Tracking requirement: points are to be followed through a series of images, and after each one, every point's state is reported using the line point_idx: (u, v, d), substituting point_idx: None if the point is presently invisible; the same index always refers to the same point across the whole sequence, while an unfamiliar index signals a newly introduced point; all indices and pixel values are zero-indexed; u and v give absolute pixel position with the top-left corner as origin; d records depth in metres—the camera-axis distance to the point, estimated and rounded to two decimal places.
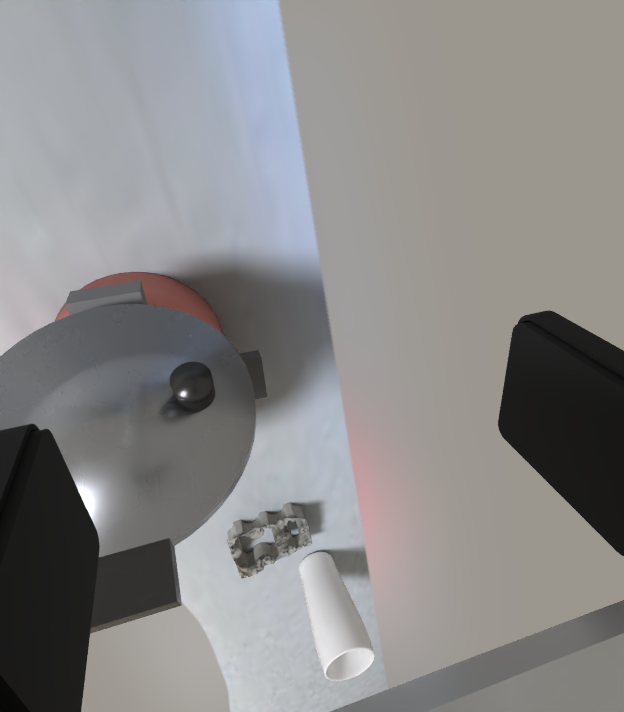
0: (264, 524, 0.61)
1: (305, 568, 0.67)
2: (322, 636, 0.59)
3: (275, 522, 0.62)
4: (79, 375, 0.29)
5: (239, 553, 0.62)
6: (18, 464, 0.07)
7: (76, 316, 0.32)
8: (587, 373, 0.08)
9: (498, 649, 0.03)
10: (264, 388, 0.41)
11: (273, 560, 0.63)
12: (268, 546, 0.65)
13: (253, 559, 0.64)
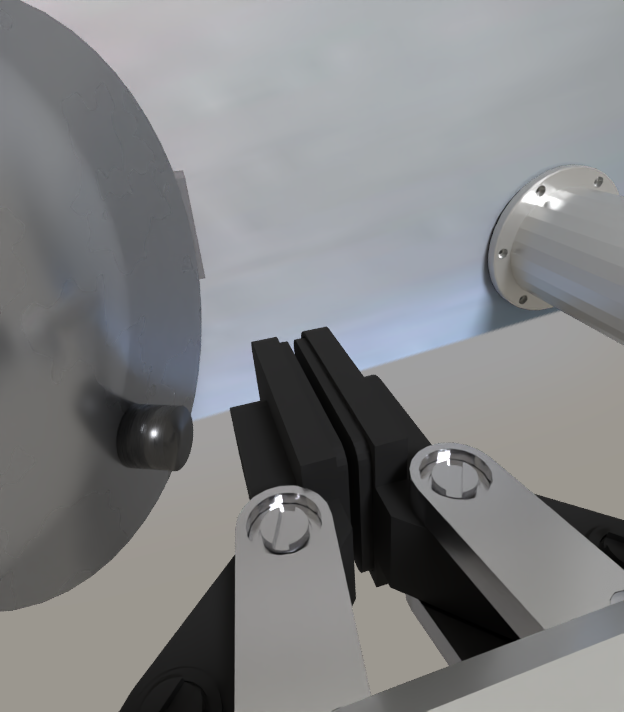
0: None
1: None
2: None
3: None
4: (128, 238, 0.17)
5: None
6: None
7: (181, 203, 0.21)
8: (321, 391, 0.08)
9: (498, 649, 0.03)
10: None
11: None
12: None
13: None
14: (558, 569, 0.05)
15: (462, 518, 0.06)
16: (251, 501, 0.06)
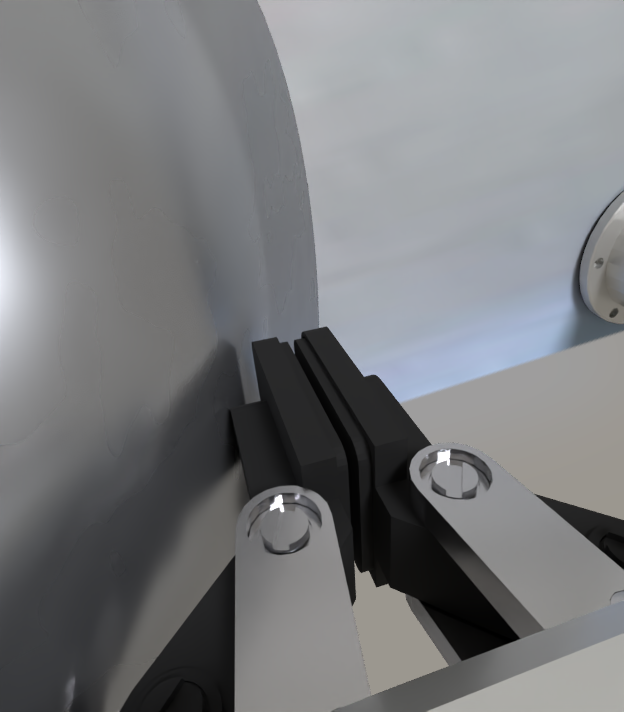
0: None
1: None
2: None
3: None
4: (281, 265, 0.13)
5: None
6: None
7: (310, 216, 0.17)
8: (321, 391, 0.08)
9: (498, 650, 0.03)
10: None
11: None
12: None
13: None
14: (558, 569, 0.05)
15: (462, 518, 0.06)
16: (251, 501, 0.06)
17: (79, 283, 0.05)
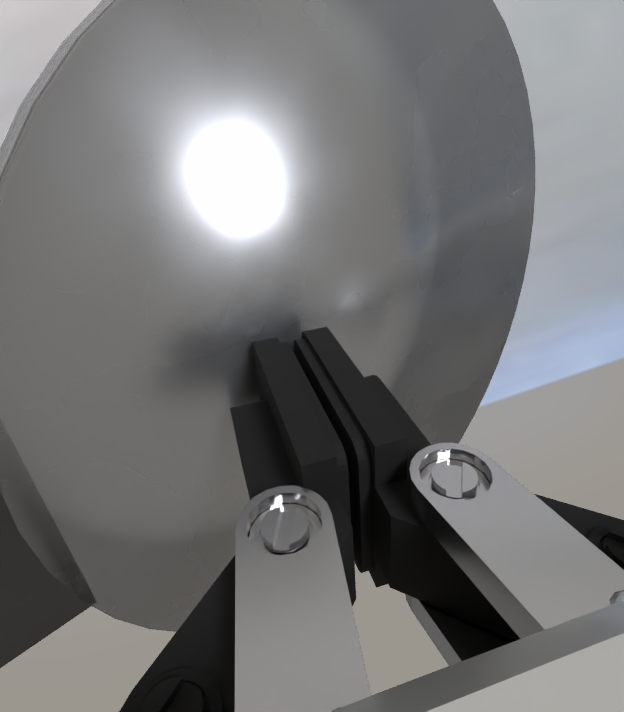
0: None
1: None
2: None
3: None
4: (444, 247, 0.13)
5: None
6: None
7: (529, 206, 0.16)
8: (321, 391, 0.08)
9: (498, 649, 0.03)
10: None
11: None
12: None
13: None
14: (558, 569, 0.05)
15: (462, 518, 0.06)
16: (251, 501, 0.06)
17: (144, 210, 0.07)
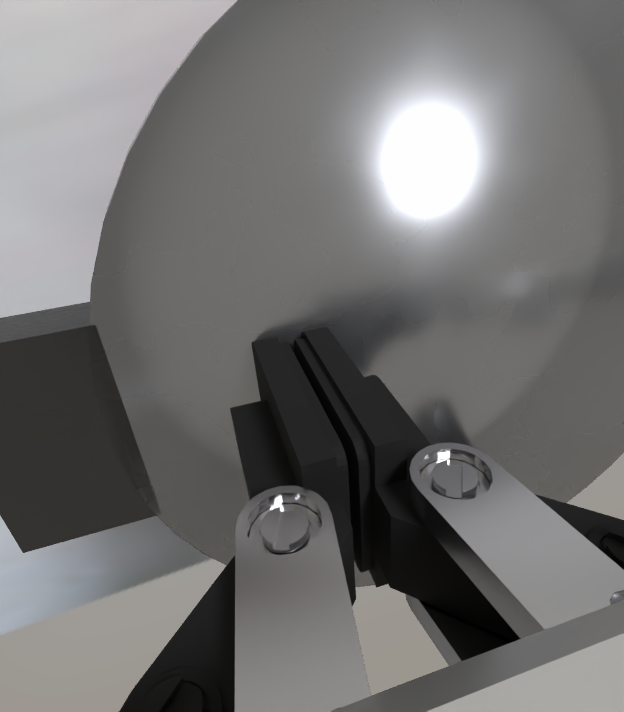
0: None
1: None
2: None
3: None
4: (592, 265, 0.11)
5: None
6: None
7: None
8: (321, 391, 0.08)
9: (498, 649, 0.03)
10: None
11: None
12: None
13: None
14: (558, 569, 0.05)
15: (462, 518, 0.06)
16: (251, 501, 0.06)
17: (238, 190, 0.08)
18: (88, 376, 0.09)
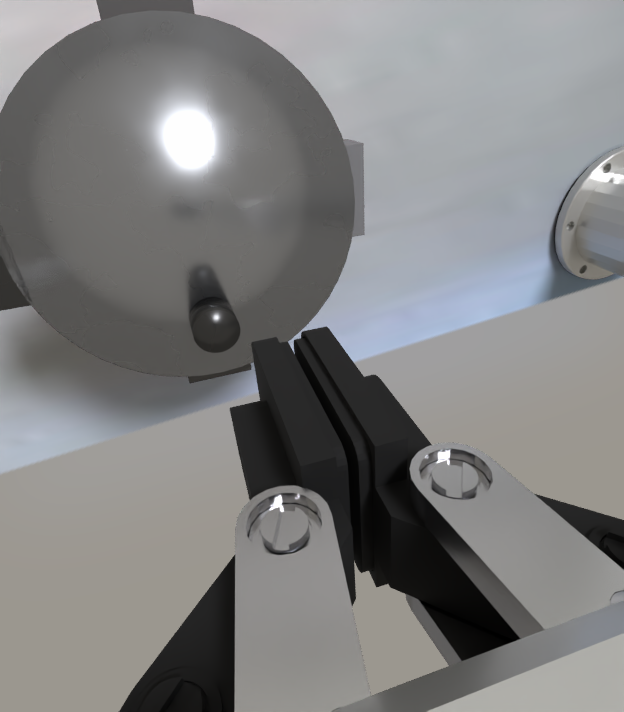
0: None
1: None
2: None
3: None
4: (253, 182, 0.23)
5: None
6: None
7: (345, 168, 0.24)
8: (322, 391, 0.08)
9: (498, 650, 0.03)
10: (203, 378, 0.30)
11: None
12: None
13: None
14: (558, 569, 0.05)
15: (462, 518, 0.06)
16: (251, 501, 0.06)
17: (48, 136, 0.20)
18: None
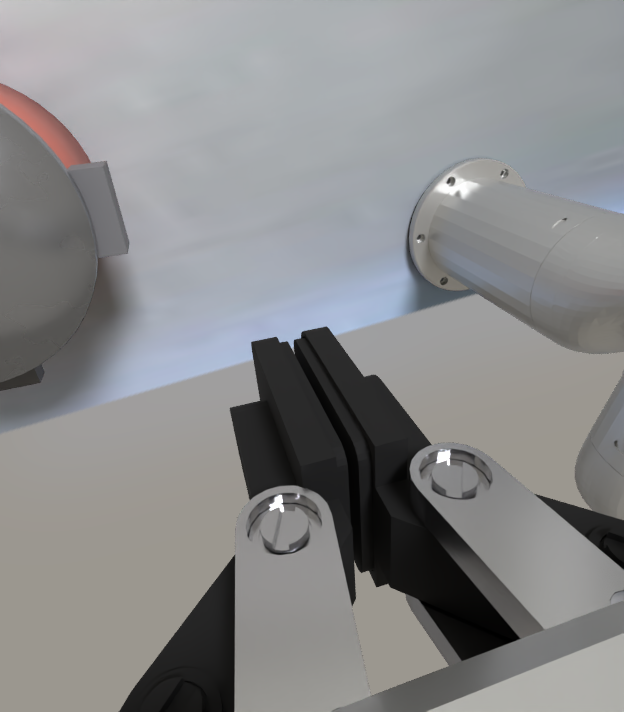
0: None
1: None
2: None
3: None
4: None
5: None
6: None
7: (70, 192, 0.25)
8: (321, 391, 0.08)
9: (498, 649, 0.03)
10: None
11: None
12: None
13: None
14: (558, 569, 0.05)
15: (462, 518, 0.06)
16: (251, 501, 0.06)
17: None
18: None
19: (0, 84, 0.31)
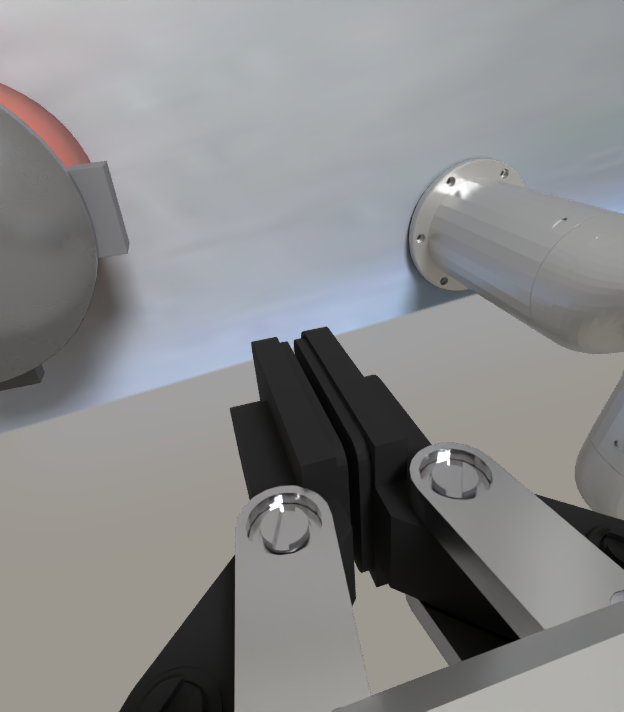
0: None
1: None
2: None
3: None
4: None
5: None
6: None
7: (70, 192, 0.25)
8: (322, 391, 0.08)
9: (498, 649, 0.03)
10: None
11: None
12: None
13: None
14: (558, 569, 0.05)
15: (462, 518, 0.06)
16: (251, 501, 0.06)
17: None
18: None
19: (0, 84, 0.31)
